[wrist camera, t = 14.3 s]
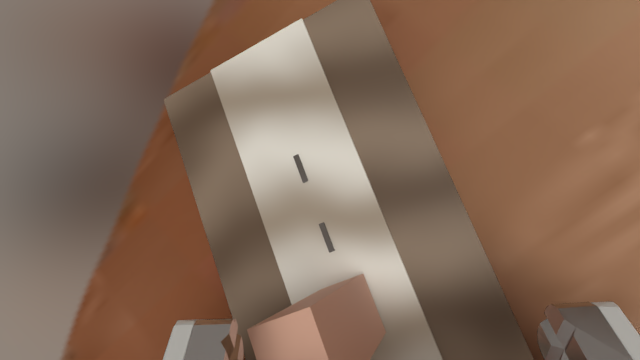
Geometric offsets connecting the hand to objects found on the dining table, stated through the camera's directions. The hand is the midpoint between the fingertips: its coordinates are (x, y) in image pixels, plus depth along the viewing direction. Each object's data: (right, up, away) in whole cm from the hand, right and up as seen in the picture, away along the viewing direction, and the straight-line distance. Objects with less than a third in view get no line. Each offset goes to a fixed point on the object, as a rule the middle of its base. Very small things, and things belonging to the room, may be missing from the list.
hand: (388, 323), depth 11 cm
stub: (0, -3, +10) cm, 10 cm away
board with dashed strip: (-1, +2, +13) cm, 13 cm away
